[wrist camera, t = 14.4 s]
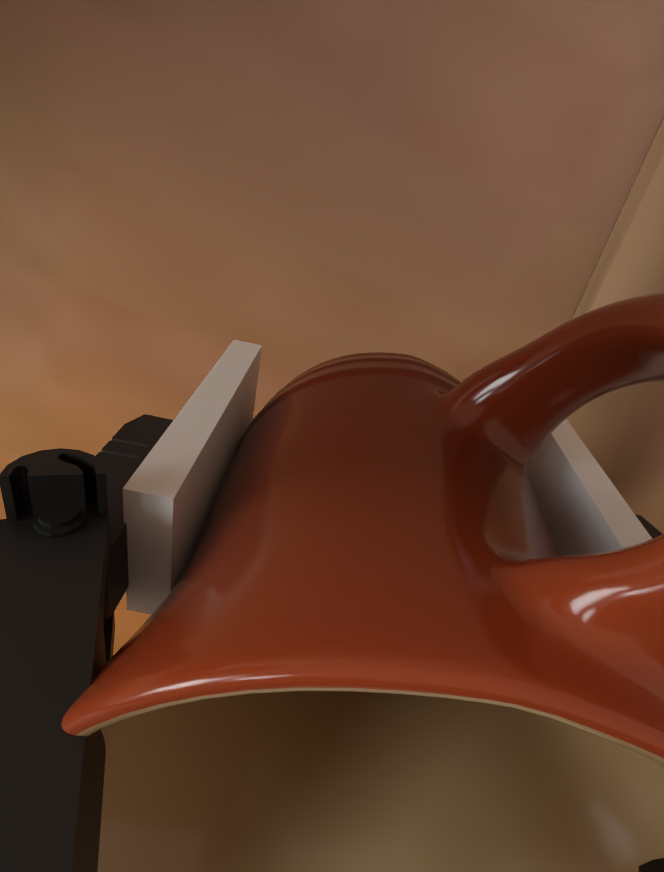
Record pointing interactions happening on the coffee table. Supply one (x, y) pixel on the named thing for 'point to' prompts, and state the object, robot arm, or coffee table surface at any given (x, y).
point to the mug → (398, 639)
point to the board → (640, 403)
